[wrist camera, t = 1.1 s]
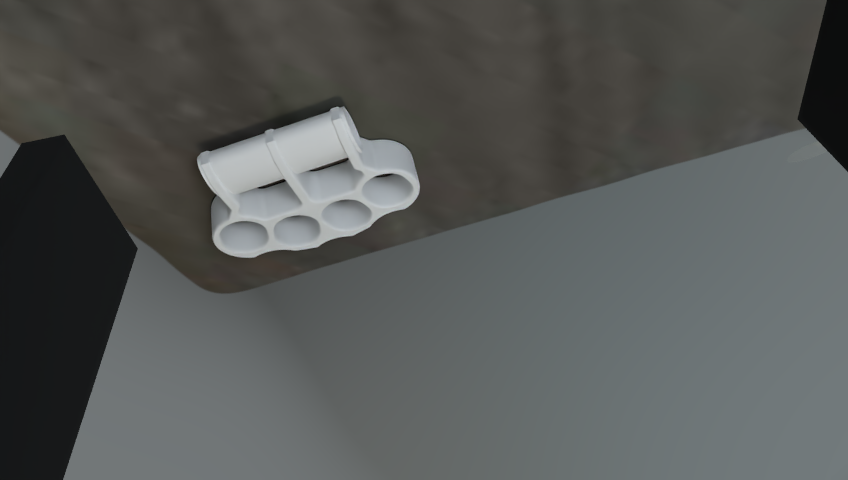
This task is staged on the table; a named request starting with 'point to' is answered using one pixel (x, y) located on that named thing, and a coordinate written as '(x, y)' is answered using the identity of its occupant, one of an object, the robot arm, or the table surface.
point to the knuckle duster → (304, 185)
